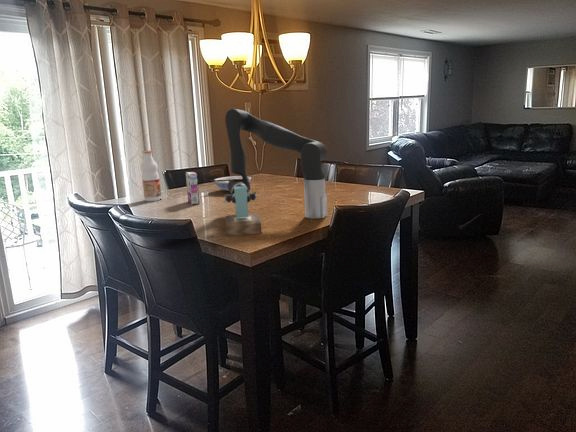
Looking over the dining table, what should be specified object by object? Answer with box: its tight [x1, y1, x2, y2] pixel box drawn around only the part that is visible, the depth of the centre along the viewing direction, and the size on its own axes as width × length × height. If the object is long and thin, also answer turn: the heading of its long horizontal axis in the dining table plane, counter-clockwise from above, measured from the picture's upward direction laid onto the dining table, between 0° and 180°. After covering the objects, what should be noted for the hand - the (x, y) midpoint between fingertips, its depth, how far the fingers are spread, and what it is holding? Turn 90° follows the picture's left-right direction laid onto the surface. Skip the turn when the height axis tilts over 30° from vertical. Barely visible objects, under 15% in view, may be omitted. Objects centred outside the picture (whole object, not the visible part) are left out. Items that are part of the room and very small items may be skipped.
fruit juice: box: [140, 150, 163, 202], centre depth 252 cm, size 9×9×28 cm
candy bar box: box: [185, 171, 200, 206], centre depth 240 cm, size 11×5×16 cm, turn 21°
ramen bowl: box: [209, 175, 252, 193], centre depth 271 cm, size 25×23×8 cm
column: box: [234, 186, 249, 218], centre depth 183 cm, size 5×5×12 cm
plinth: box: [225, 212, 262, 237], centre depth 185 cm, size 14×18×4 cm
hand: (241, 200), depth 180 cm, fingers closed on column, 5 cm apart
